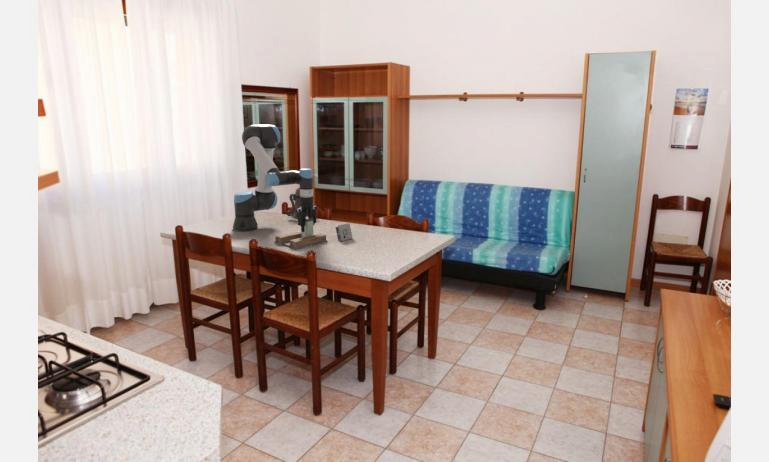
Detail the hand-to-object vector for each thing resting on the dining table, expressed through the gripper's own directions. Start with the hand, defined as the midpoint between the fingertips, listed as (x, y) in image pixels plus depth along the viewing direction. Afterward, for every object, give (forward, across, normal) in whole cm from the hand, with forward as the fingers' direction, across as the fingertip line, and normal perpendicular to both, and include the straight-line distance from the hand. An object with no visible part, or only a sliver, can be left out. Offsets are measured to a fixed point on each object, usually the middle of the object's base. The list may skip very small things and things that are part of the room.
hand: (307, 236), depth 283 cm
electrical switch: (+3, +17, -12) cm, 21 cm away
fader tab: (+1, 0, 0) cm, 1 cm away
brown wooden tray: (+3, -5, 0) cm, 5 cm away
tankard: (+3, +37, +53) cm, 65 cm away
